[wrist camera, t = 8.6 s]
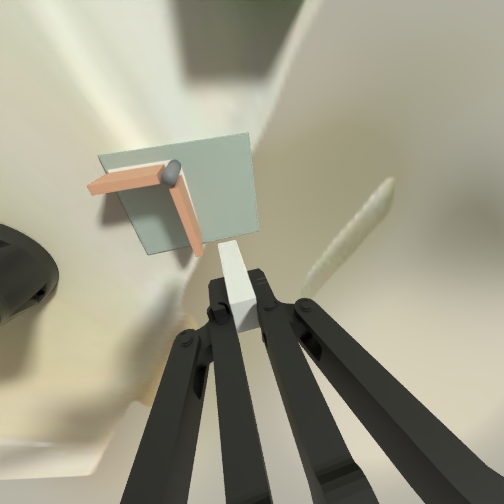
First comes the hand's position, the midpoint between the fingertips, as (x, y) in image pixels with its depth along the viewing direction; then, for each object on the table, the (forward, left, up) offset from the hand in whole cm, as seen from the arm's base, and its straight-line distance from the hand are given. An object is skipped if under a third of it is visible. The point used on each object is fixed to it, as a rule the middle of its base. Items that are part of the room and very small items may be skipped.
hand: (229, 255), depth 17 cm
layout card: (-3, 0, -17) cm, 17 cm away
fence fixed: (-8, +5, -17) cm, 19 cm away
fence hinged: (-4, -1, -16) cm, 17 cm away
